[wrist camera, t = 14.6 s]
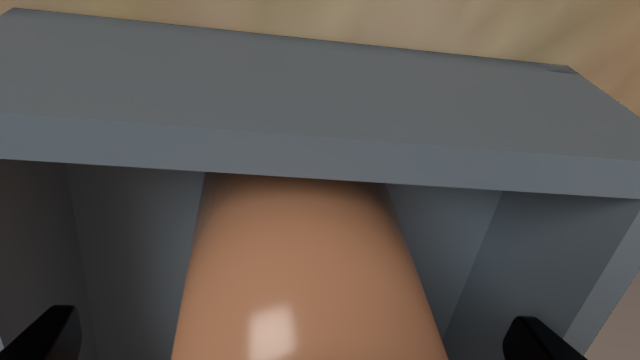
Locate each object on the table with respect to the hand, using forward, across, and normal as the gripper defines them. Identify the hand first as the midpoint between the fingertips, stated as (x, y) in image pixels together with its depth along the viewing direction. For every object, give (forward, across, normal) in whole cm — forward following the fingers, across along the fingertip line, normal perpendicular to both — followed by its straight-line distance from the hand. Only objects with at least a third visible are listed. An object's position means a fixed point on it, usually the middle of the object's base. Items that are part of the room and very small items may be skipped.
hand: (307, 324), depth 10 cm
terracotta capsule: (+4, 0, 0) cm, 5 cm away
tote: (+5, 0, +4) cm, 7 cm away
